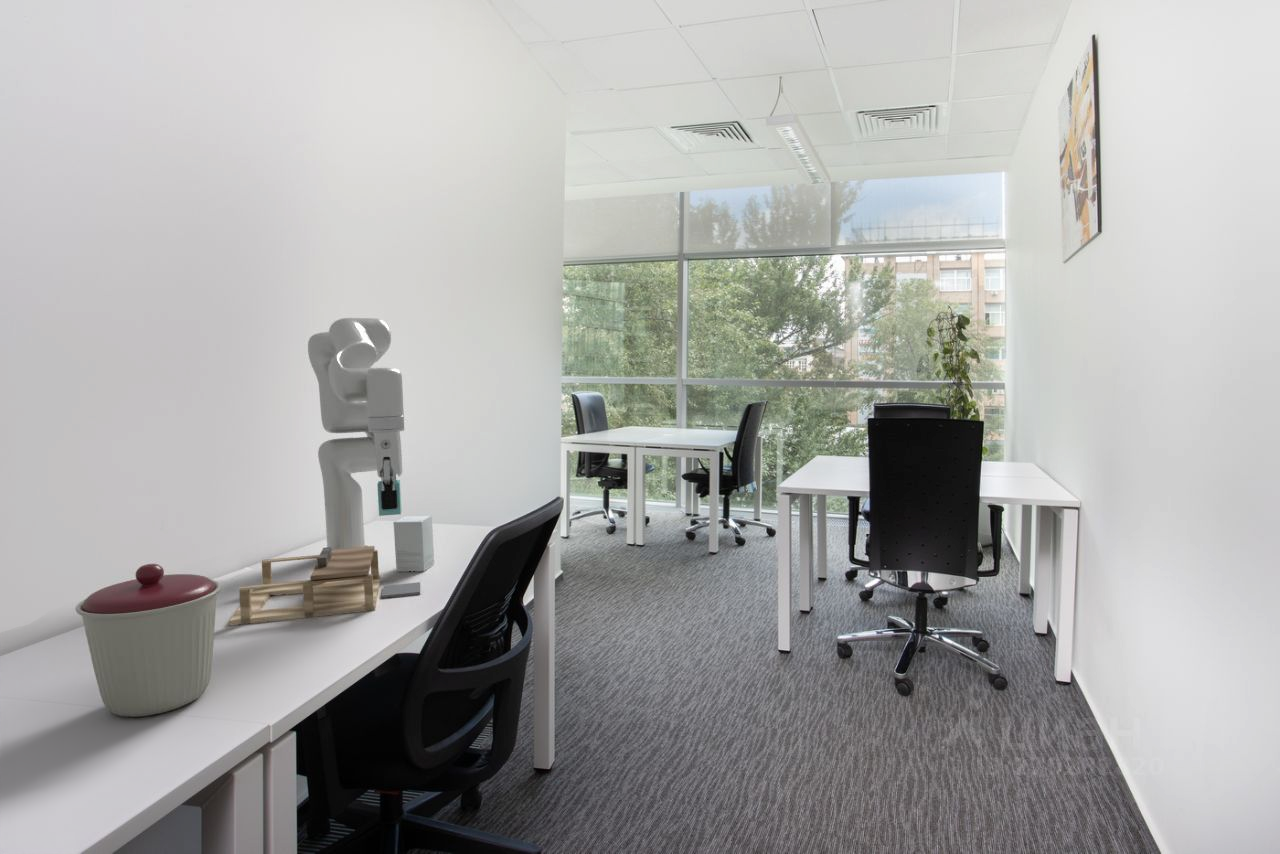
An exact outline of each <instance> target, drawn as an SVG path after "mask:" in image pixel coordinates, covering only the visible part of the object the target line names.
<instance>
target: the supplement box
mask: <svg viewBox="0 0 1280 854" xmlns="http://www.w3.org/2000/svg"><path fill="white" fill-rule="evenodd" d="M433 532H434V531H433V516H432V515H424V516H423V515H415V516H414V515H412V516H411V515H409V516H407V515H405V516H403V517H401V518H399V519H397V520H396V521H395V520H394V521H393V535H394V537H393V538H394V551H395V552H394V553H395V563H396V564H395V567H396V572H397V573H398V572H401V573H402V572H405V573H407V572H409V571H411V572H414V571H415V572H416V573H417V572H418V573H419V572H426V571H427V570H428V569H430V568H432V567H433V566H434V565H435V553H434V533H433ZM433 564H434V565H433ZM432 565H433V566H432ZM429 567H430V568H429ZM425 570H426V571H425ZM409 573H410V572H409Z"/></svg>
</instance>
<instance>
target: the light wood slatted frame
mask: <svg viewBox="0 0 1280 854" xmlns="http://www.w3.org/2000/svg"><path fill="white" fill-rule="evenodd" d="M319 555H320V554H316V555H315V554H314V555H305V556H304V555H303V556H292V557H291V556H290V557H280V558H279V557H278V558H269V559H262V560H261V571H262V573H261V574H262V584H252V585H243V586H240V587H239V588H238V593H239V607H238V608H237V610H236V611H235V613H233V615H232V616H231V617H230V619H229V620H228V624H229V625H231V626H237V625H238V624H241V625H248V623H250V624H257V623H258V622H259V623H265V622H267V621H269V622H275V621H277V622H278V621H285V620H286V619H287V620H295V619H305V618H313V617H322V616H331V615H332V616H333V614H334V615H340V614H341V615H342V613H343V614H350V612H352V613H360V612H359V611H362V612H368V611H370V610H371V611H376V609H377V608H376V607H377V601H378V597H377V596H378V595H379V590H380V584H381V575H380V571H379V552H378V549H375V550H374V554H373V558H372V562H371V566H370V573H369V575H359V576H349V577H338V578H327V579H317V580H311V579H307V580H306V579H304V580H294V581H285V582H284V581H283V582H274V583H273V574H272V563H278V562H279V563H281V562H289V561H290V562H292V561H302V560H304V561H305V560H312V559H316V564H317V563H318V557H319ZM282 594H286V595H293V594H294V595H296V594H303V595H302V596H303V605H299V606H290V607H279V608H271V609H263V608H264V606H265V604H266V603H267V601H268V600H269V598H270V597H271V596H270V595H276V596H283V595H282ZM269 596H270V597H269ZM267 599H268V600H267ZM265 602H266V603H265ZM263 605H264V606H263ZM261 608H262V609H261ZM357 611H358V612H357ZM238 626H239V625H238Z"/></svg>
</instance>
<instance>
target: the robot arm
mask: <svg viewBox="0 0 1280 854" xmlns="http://www.w3.org/2000/svg"><path fill="white" fill-rule="evenodd" d="M391 342H392V333H391V331H390V327H389V325H388V324H387V323H386V321H384V320H382V319H381V318H370V317H369V318H366V317H364V318H363V317H345V318H339V319H337V320H334V322H332V323H331V325H330V327H329V329H328V331H323V332H318V333H315V334H313V335H311V336H310V337H309V339H308V343H307V354H308V359H309V362H310V365H311V368H312V370H313V372H314V374H315V376H316V379H317V382H318V391H319V406H320V417H321V418H320V419H321V424H322V428H323V429H324V431H326V432H327V433H330V434H348V433H349V434H351V433H352V434H353V433H365V434H366V436H362V437H343V438H342V437H341V438H333V439H329V440H326V441H323V443H321V444H320V446H319V447H318V450H317V451H318V452H317V454H318V455H317V457H318V462H319V467H320V472H321V477H322V483H323V498H324V512H325V513H324V514H325V532H326V533H325V534H326V547H331V549H342V548H354V547H365V546H367V545H365V544H366V543H365V527H364V525H365V523H364V506H363V505H364V503H363V491H362V487H361V485H360V484H359V482H358V481H357V480H356V479H354V478H353V477H352V474H356V473H366V472H377V473H376V474H377V476H378V477H379V478H380V479H381V480H380V481H382V491H381V502H382V509H383V510H385V509H396V508H397V490H395V480H397V476H398V477H401V476H402V475H403V461H402V459H403V456H402V441H401V433H400V432H403V431H404V432H405V416H404V415H405V411H404V410H405V409H404V395H403V394H404V392H403V375H402V372H401V370H400V369H398V368H395V367H394V368H393V367H392V368H391V367H372V366H373V365H374V364H375V363H377V362H379V360H380V359H381V358H382V357H383V356H384V355H385V354H386V353H387V352H388V350H389V348H390V347H391V346H390V345H391Z"/></svg>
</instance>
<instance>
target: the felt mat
mask: <svg viewBox="0 0 1280 854" xmlns="http://www.w3.org/2000/svg"><path fill="white" fill-rule="evenodd" d="M420 595H421V581H420V582H408V583H399V584H398V583H397V584H389V585H388V584H387V585H383V587H382V593H381V599H389V598H388V597H391V598H399V597H400V596H401V597H407V596H408V597H409V596H420Z"/></svg>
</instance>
